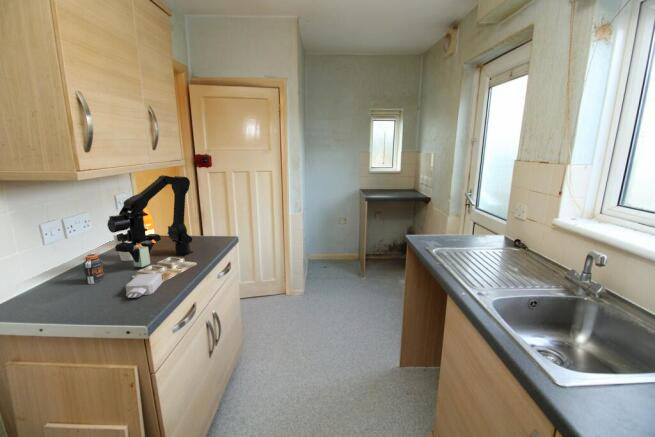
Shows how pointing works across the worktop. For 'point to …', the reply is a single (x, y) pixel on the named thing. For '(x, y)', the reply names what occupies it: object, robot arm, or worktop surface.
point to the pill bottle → (93, 269)
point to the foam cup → (123, 255)
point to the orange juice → (148, 224)
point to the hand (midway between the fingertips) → (141, 260)
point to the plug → (142, 257)
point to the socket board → (167, 268)
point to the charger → (143, 285)
